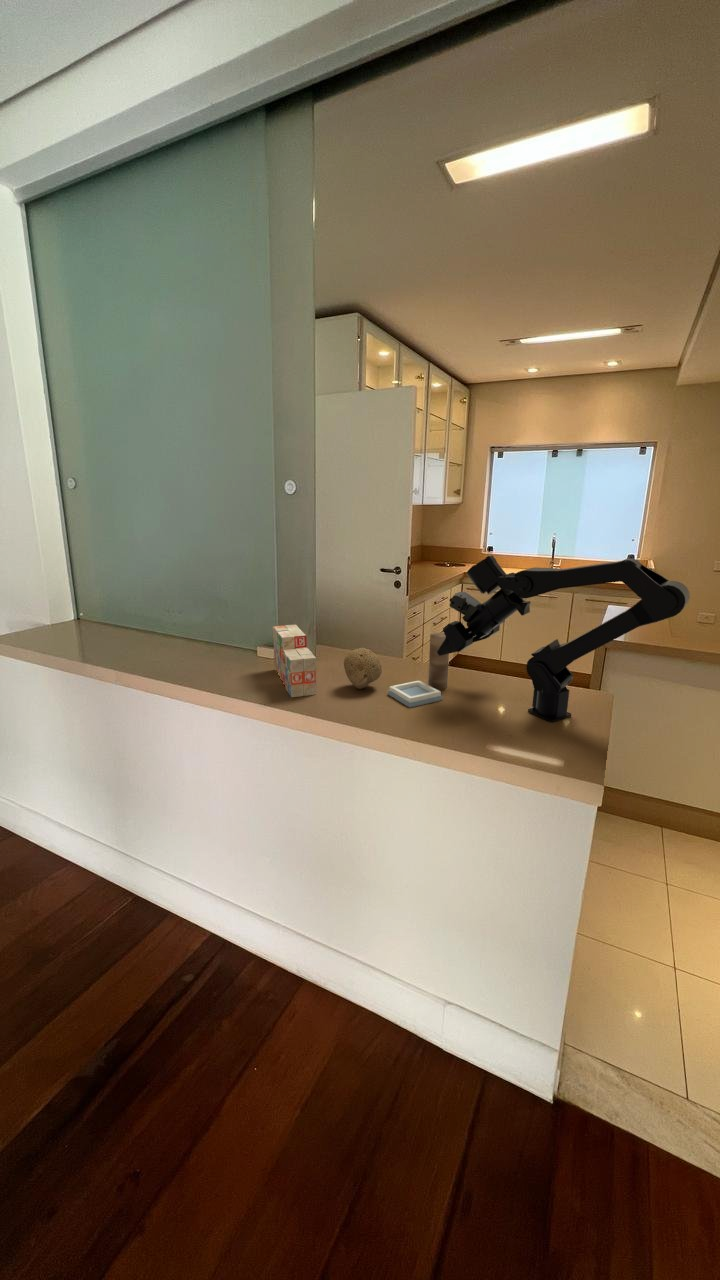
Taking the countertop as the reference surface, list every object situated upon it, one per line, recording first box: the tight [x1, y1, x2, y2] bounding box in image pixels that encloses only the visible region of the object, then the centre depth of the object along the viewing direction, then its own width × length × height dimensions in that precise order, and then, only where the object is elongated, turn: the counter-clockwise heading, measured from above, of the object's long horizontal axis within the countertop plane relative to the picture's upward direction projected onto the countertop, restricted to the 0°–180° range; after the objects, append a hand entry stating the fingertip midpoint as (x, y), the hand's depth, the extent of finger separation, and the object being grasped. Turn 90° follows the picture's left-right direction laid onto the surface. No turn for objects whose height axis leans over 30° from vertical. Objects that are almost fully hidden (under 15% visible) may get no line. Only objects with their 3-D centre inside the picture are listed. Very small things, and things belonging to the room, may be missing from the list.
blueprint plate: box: [387, 680, 443, 708], centre depth 119 cm, size 9×9×2 cm
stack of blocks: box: [272, 624, 317, 698], centre depth 128 cm, size 21×6×12 cm, turn 19°
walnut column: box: [427, 632, 450, 691], centre depth 124 cm, size 5×5×13 cm
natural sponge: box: [343, 647, 383, 690], centre depth 123 cm, size 9×9×10 cm
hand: (448, 649), depth 122 cm, fingers open, 9 cm apart
